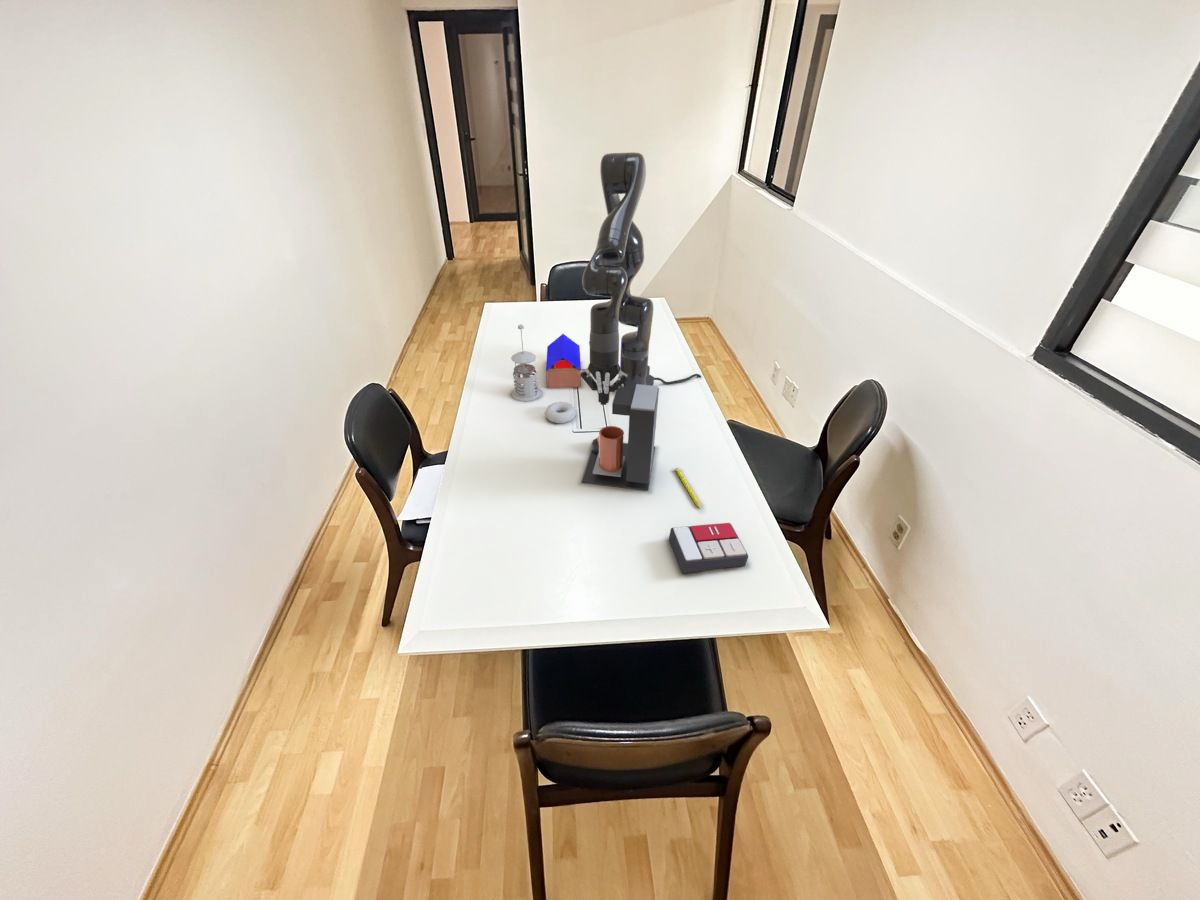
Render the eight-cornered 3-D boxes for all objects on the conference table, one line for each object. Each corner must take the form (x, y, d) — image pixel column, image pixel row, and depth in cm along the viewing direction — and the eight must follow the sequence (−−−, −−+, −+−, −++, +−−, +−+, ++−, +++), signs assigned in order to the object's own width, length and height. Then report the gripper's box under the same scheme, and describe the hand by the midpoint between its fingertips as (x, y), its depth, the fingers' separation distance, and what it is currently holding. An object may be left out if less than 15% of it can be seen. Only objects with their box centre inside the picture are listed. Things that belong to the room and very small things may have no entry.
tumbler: (613, 454, 147) (614, 423, 141) (627, 466, 142) (628, 434, 136) (594, 462, 144) (594, 430, 138) (608, 474, 139) (608, 442, 133)
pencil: (675, 471, 145) (675, 468, 145) (678, 470, 146) (678, 467, 145) (698, 510, 132) (699, 507, 132) (702, 509, 133) (702, 506, 132)
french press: (517, 403, 174) (511, 333, 160) (506, 388, 183) (498, 320, 168) (545, 397, 178) (541, 327, 163) (532, 382, 186) (527, 314, 172)
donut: (541, 423, 165) (572, 426, 163) (540, 414, 163) (572, 417, 161) (550, 407, 173) (579, 410, 171) (549, 398, 171) (579, 401, 169)
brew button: (596, 446, 151) (596, 441, 150) (598, 440, 153) (598, 434, 152) (607, 447, 150) (607, 442, 149) (609, 441, 153) (609, 435, 152)
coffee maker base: (581, 483, 141) (581, 475, 139) (594, 441, 157) (594, 434, 155) (648, 491, 138) (648, 483, 137) (655, 448, 154) (655, 440, 153)
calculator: (750, 554, 116) (685, 560, 113) (745, 567, 118) (682, 573, 115) (731, 520, 124) (670, 525, 122) (727, 533, 127) (668, 538, 124)
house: (546, 388, 183) (545, 357, 176) (548, 362, 199) (546, 333, 192) (581, 387, 183) (580, 357, 177) (579, 362, 200) (579, 333, 193)
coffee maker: (591, 477, 139) (591, 403, 126) (599, 451, 149) (600, 380, 135) (648, 484, 137) (654, 409, 124) (653, 457, 147) (659, 385, 133)
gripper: (631, 340, 136) (629, 398, 146) (581, 337, 138) (582, 394, 148) (628, 353, 130) (625, 412, 140) (575, 349, 132) (577, 408, 142)
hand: (603, 403), depth 144 cm, fingers closed
